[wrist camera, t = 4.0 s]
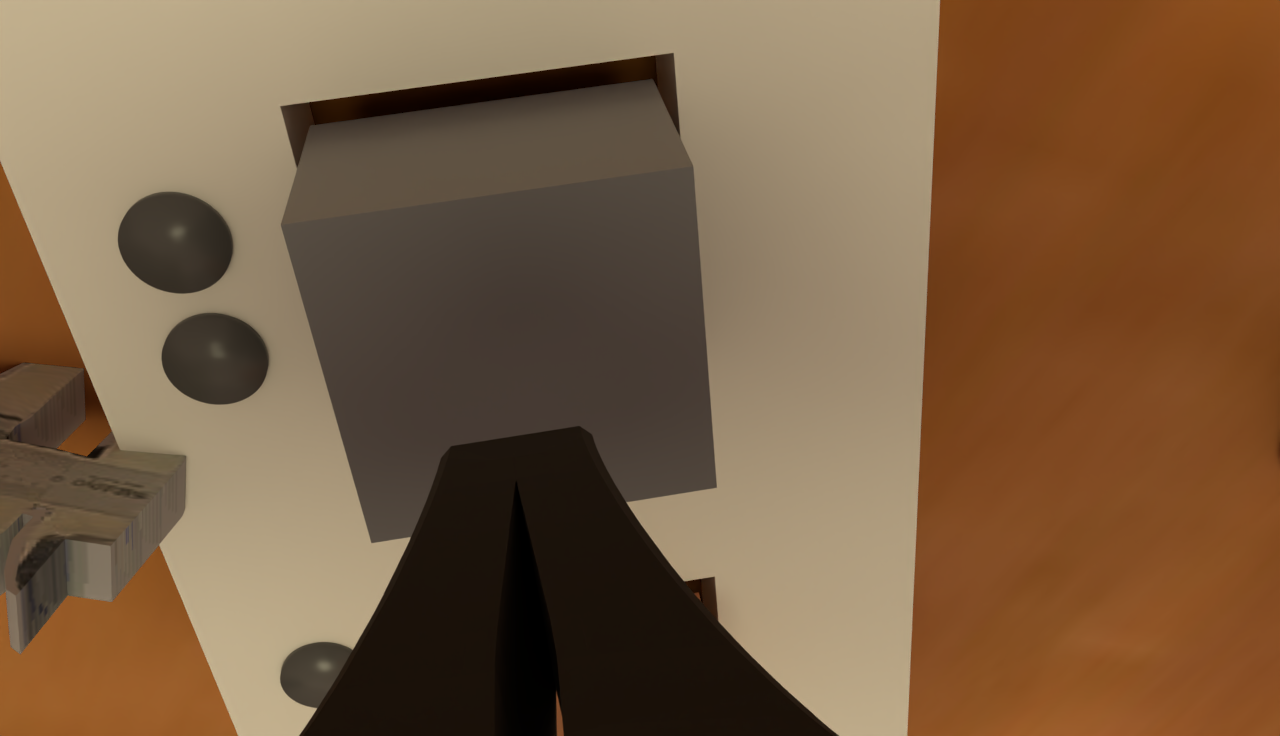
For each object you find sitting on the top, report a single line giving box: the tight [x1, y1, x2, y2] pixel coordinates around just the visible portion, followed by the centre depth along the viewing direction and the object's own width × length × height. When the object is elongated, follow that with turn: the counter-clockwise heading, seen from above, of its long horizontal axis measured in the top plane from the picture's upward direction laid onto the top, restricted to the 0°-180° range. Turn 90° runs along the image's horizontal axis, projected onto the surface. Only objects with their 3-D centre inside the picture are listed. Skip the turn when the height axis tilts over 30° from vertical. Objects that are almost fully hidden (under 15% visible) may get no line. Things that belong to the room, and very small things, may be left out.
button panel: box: [0, 0, 940, 736], centre depth 22 cm, size 12×30×2 cm, turn 6°
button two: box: [281, 79, 717, 543], centre depth 15 cm, size 4×4×3 cm
